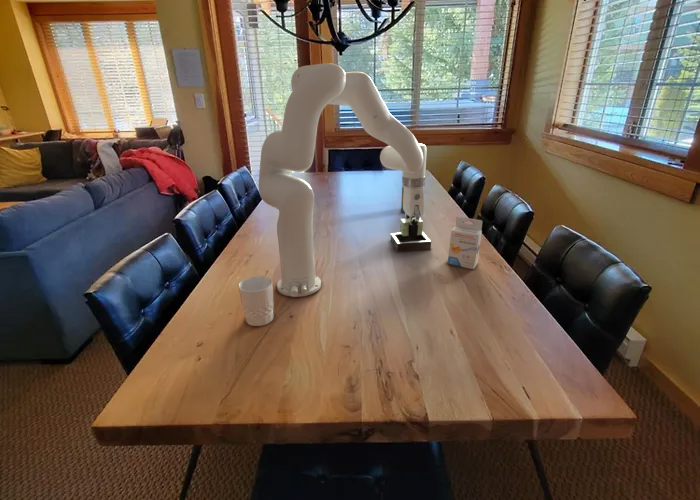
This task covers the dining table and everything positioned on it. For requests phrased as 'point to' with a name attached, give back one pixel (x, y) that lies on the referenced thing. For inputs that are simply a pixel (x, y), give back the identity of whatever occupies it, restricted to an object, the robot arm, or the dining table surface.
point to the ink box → (465, 243)
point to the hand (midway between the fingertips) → (410, 232)
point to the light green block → (405, 226)
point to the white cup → (257, 300)
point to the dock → (410, 242)
